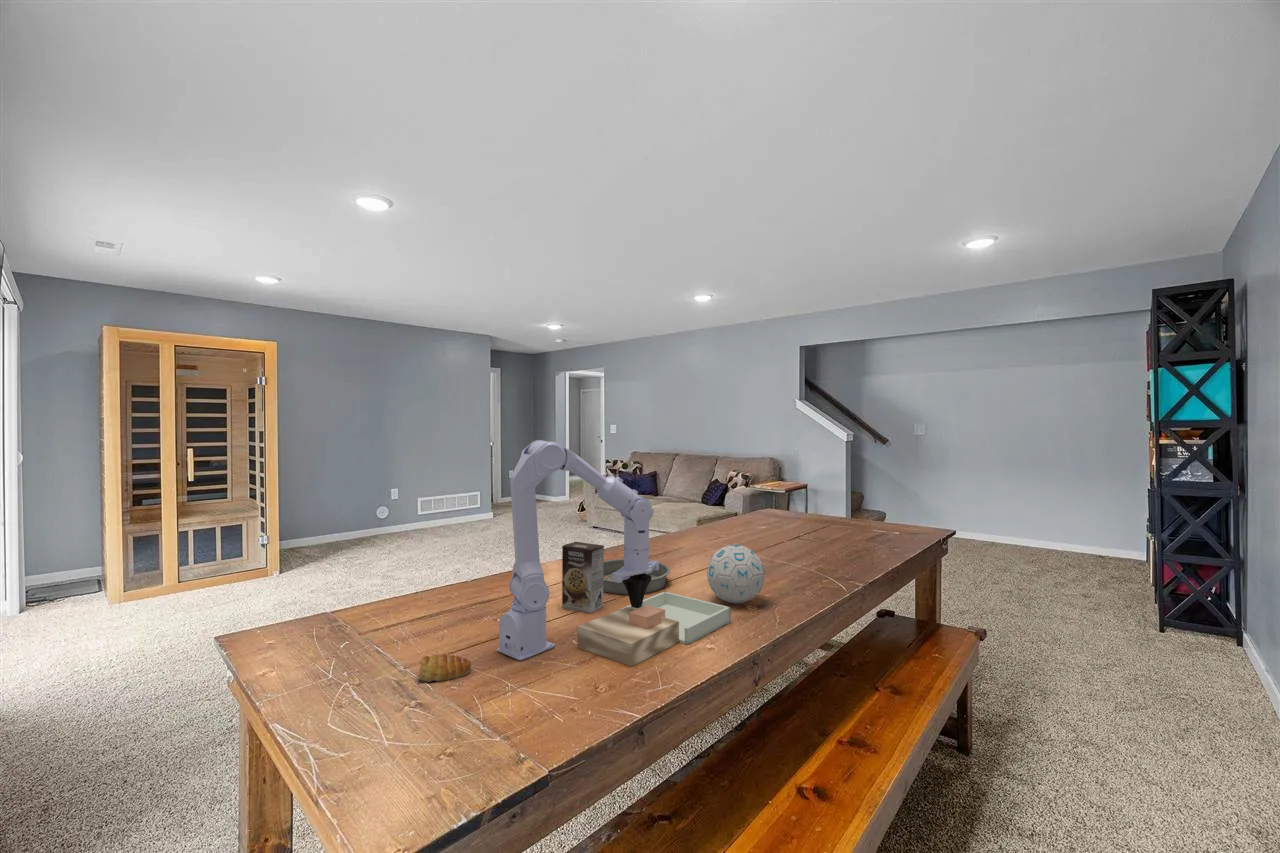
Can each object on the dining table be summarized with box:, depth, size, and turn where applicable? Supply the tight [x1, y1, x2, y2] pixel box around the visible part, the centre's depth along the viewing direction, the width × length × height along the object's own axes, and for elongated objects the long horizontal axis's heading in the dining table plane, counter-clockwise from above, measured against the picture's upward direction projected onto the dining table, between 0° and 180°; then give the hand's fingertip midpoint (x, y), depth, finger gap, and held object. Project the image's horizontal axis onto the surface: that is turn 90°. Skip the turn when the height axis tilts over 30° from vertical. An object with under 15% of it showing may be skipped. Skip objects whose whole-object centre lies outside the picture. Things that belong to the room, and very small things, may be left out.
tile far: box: [646, 605, 665, 618], centre depth 137 cm, size 5×5×2 cm
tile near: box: [629, 606, 662, 629], centre depth 124 cm, size 5×5×2 cm
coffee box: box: [561, 541, 605, 614], centre depth 148 cm, size 9×6×16 cm
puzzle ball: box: [706, 544, 766, 605], centre depth 153 cm, size 15×15×15 cm
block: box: [577, 606, 680, 668], centre depth 124 cm, size 16×15×4 cm
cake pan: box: [603, 558, 671, 595], centre depth 170 cm, size 25×25×4 cm
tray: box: [618, 591, 732, 646], centre depth 137 cm, size 18×20×4 cm
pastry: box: [418, 653, 472, 683], centre depth 110 cm, size 9×7×4 cm
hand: (636, 606), depth 133 cm, fingers closed
